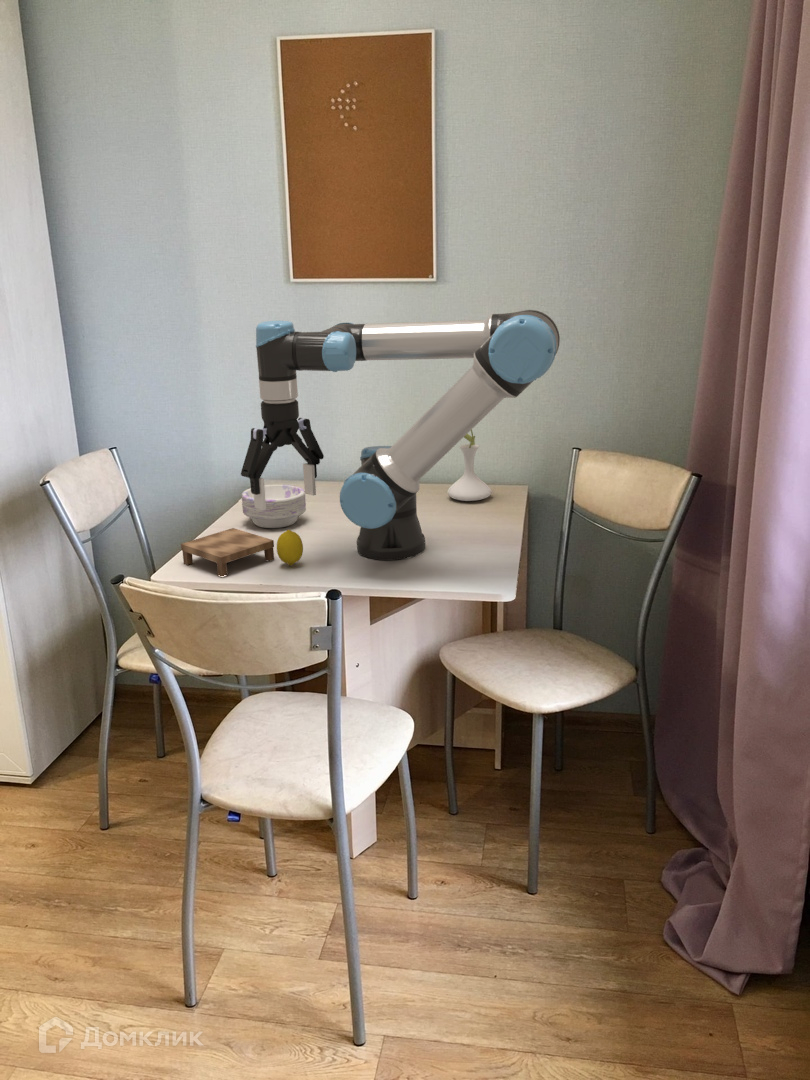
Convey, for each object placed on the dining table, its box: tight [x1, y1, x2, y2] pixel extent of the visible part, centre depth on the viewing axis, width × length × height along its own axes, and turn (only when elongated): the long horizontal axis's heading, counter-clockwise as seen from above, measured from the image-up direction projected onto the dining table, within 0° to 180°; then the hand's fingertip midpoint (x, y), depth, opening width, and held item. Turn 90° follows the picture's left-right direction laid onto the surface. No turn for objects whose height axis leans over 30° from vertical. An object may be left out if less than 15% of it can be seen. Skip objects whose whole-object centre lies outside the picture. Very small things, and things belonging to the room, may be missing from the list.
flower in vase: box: [447, 429, 493, 502], centre depth 248 cm, size 13×11×25 cm
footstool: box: [180, 527, 275, 576], centre depth 211 cm, size 14×4×14 cm
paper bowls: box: [241, 484, 307, 529], centre depth 236 cm, size 15×15×8 cm
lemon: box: [276, 529, 304, 567], centre depth 207 cm, size 6×6×8 cm
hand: (286, 501), depth 204 cm, fingers open, 13 cm apart
